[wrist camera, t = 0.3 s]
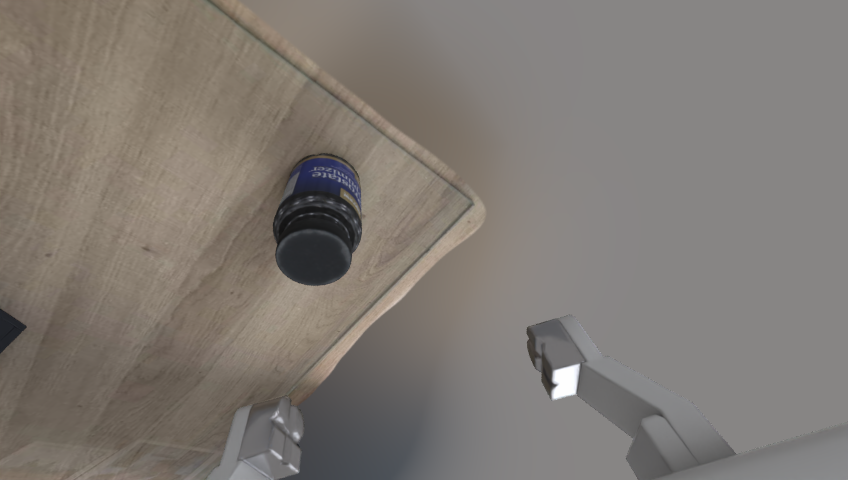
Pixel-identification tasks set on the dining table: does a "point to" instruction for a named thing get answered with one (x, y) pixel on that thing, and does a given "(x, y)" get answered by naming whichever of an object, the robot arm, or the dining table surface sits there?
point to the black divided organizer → (8, 329)
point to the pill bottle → (318, 220)
